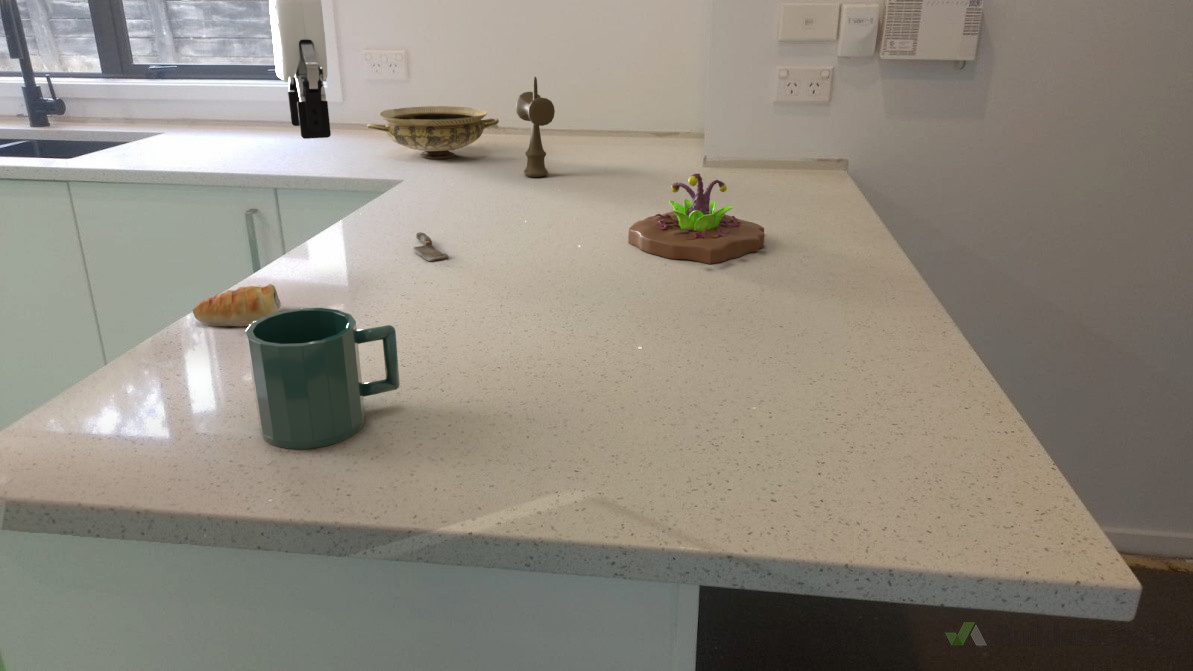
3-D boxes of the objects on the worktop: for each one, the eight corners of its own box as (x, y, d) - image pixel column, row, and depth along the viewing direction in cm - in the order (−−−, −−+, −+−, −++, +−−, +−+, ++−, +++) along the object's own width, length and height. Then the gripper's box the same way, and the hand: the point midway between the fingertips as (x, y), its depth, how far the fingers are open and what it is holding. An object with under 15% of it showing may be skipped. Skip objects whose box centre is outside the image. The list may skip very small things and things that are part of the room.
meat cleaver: (413, 263, 119) (449, 263, 120) (413, 256, 119) (449, 255, 120) (411, 238, 129) (444, 238, 131) (411, 231, 129) (444, 230, 130)
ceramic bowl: (488, 144, 209) (486, 103, 205) (512, 162, 189) (511, 116, 185) (364, 149, 200) (360, 106, 196) (375, 169, 179) (371, 121, 175)
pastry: (192, 333, 94) (186, 301, 92) (198, 313, 100) (192, 282, 98) (281, 324, 97) (277, 293, 95) (281, 305, 103) (277, 275, 101)
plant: (606, 245, 129) (608, 172, 125) (672, 220, 144) (675, 154, 139) (722, 270, 118) (728, 192, 114) (780, 241, 133) (788, 170, 129)
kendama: (542, 170, 181) (542, 74, 173) (556, 179, 172) (556, 78, 165) (515, 172, 179) (514, 74, 171) (528, 181, 170) (527, 79, 163)
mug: (271, 458, 69) (255, 353, 66) (253, 414, 77) (238, 317, 73) (416, 425, 75) (409, 327, 72) (387, 387, 82) (379, 296, 79)
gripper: (251, -27, 98) (270, 122, 105) (263, -28, 84) (284, 145, 91) (317, -25, 101) (332, 119, 108) (340, -26, 87) (355, 141, 93)
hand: (310, 131), depth 99 cm, fingers open, 9 cm apart
